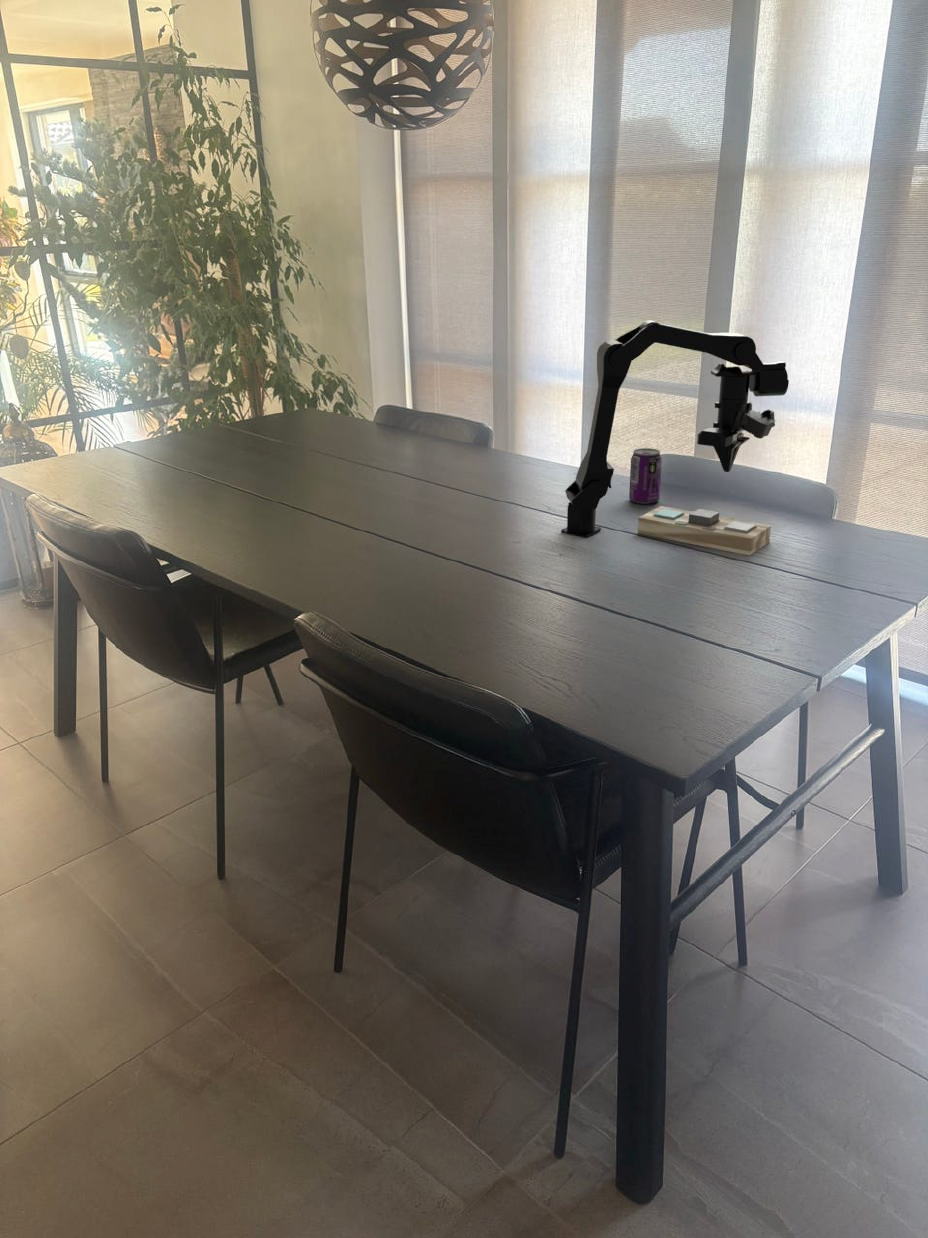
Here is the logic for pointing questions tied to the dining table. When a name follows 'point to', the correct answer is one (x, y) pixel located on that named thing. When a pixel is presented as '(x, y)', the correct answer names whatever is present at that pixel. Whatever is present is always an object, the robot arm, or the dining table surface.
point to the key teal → (669, 514)
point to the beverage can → (645, 476)
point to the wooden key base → (704, 532)
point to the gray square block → (704, 517)
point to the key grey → (740, 527)
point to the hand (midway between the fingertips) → (727, 471)
